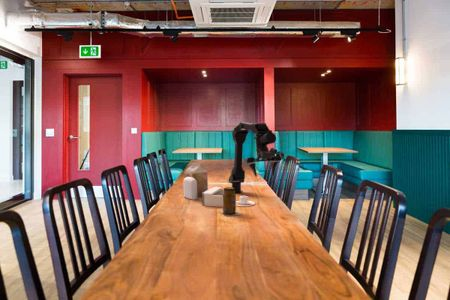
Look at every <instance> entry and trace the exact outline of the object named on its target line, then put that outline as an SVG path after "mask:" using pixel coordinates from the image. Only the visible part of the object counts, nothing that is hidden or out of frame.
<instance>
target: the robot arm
mask: <svg viewBox="0 0 450 300" xmlns="http://www.w3.org/2000/svg"><path fill="white" fill-rule="evenodd" d="M249 131H251V133H252V134H254V135H255V136H254V137H253V140H255V147H256V149H255V151H256V158H254V157H251V156H250V157H247V158H244V164H245V165H246V164H247V166H249V167H250V169H251V171H252V173H253V174H254V177H255V178H257V175H258V173H257V169H256V163H259V162H270V167H271V168H270V169H271V176H274V174H275V172H276V167H277V165H278V163H280V162H281V161H283V160H282V159H283V157H282V156H281V155H276V152H275V151H276V150H275V149H274V148H273V149H271V148H270V150H269V147H268V146H269V145H271V144H274V143H275V142H276V141H277V136H276V134H275V133H274V132H273V131H272V129H270V128H269V127H268V125H267V123H265V122H254V123H253V122H248V121H241V122H239V124H238V125H237V126H235V127H234V128H233V130H232V132H231V136H232V141H233V142H234V162H233V163H234V164H233V168H232V169H231V173H230V176H229V177H228V183H229V184H231V187H233V188H235V194H241V193H243V190H242V183H245V178H246V176H245V175H246V172H245V170H244V169H243V156H244V154H243V153H244V152H243V151H244V149H243V147H244V144H245V142H246V140H247V136H248V134H249Z"/></svg>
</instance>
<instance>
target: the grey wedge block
mask: <svg viewBox="0 0 450 300" xmlns="http://www.w3.org/2000/svg"><path fill="white" fill-rule="evenodd" d="M223 194H224V188H222V187H220V186H213V187H210V188H208V190H207V191H205V192H203V193H202V195H201V206H207V207H220V208H223Z"/></svg>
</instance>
